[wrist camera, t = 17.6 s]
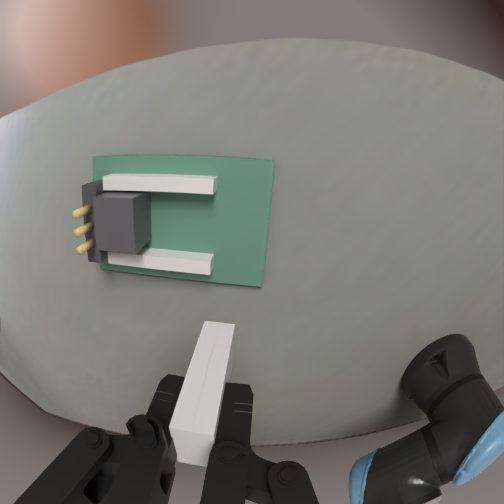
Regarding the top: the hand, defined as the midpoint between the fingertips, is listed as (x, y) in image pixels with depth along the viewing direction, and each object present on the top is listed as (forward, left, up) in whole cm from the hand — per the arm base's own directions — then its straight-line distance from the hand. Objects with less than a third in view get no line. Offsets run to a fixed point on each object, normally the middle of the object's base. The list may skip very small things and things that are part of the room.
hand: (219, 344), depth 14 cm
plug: (+1, +14, -20) cm, 24 cm away
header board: (0, +8, -20) cm, 22 cm away
